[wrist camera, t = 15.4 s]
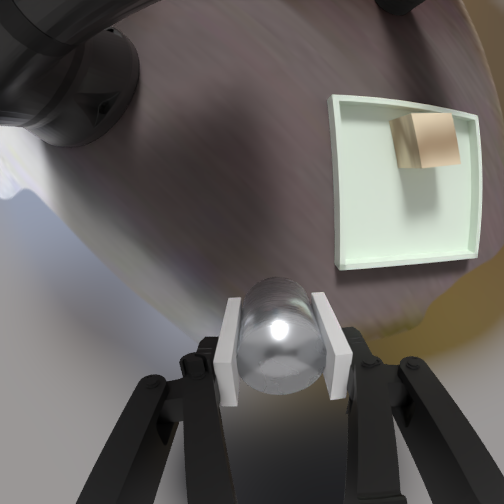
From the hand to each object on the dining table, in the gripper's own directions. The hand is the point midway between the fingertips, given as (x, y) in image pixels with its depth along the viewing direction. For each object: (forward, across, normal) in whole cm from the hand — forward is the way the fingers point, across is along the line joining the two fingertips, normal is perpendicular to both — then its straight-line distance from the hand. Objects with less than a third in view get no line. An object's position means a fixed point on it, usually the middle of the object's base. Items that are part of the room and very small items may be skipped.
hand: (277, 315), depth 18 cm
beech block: (+12, +16, +12) cm, 23 cm away
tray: (+12, +16, +7) cm, 22 cm away
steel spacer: (+1, 0, 0) cm, 1 cm away
